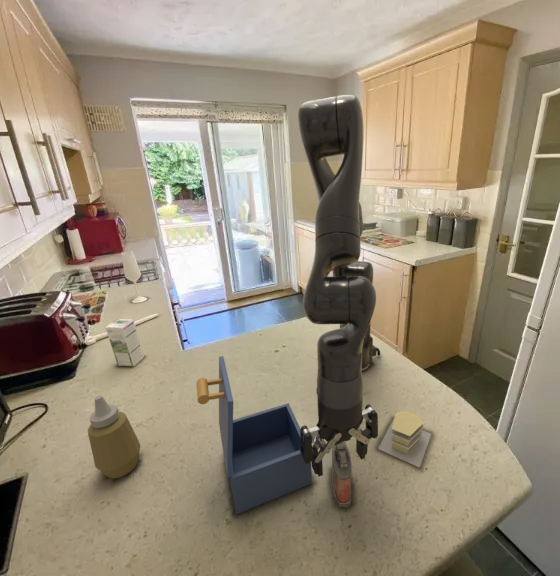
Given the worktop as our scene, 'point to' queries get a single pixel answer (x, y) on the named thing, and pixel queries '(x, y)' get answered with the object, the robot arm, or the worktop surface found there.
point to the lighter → (341, 474)
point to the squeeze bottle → (112, 440)
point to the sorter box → (266, 457)
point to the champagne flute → (132, 272)
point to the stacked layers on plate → (406, 438)
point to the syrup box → (125, 342)
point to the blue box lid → (221, 409)
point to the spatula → (93, 339)
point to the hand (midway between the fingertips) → (340, 463)
